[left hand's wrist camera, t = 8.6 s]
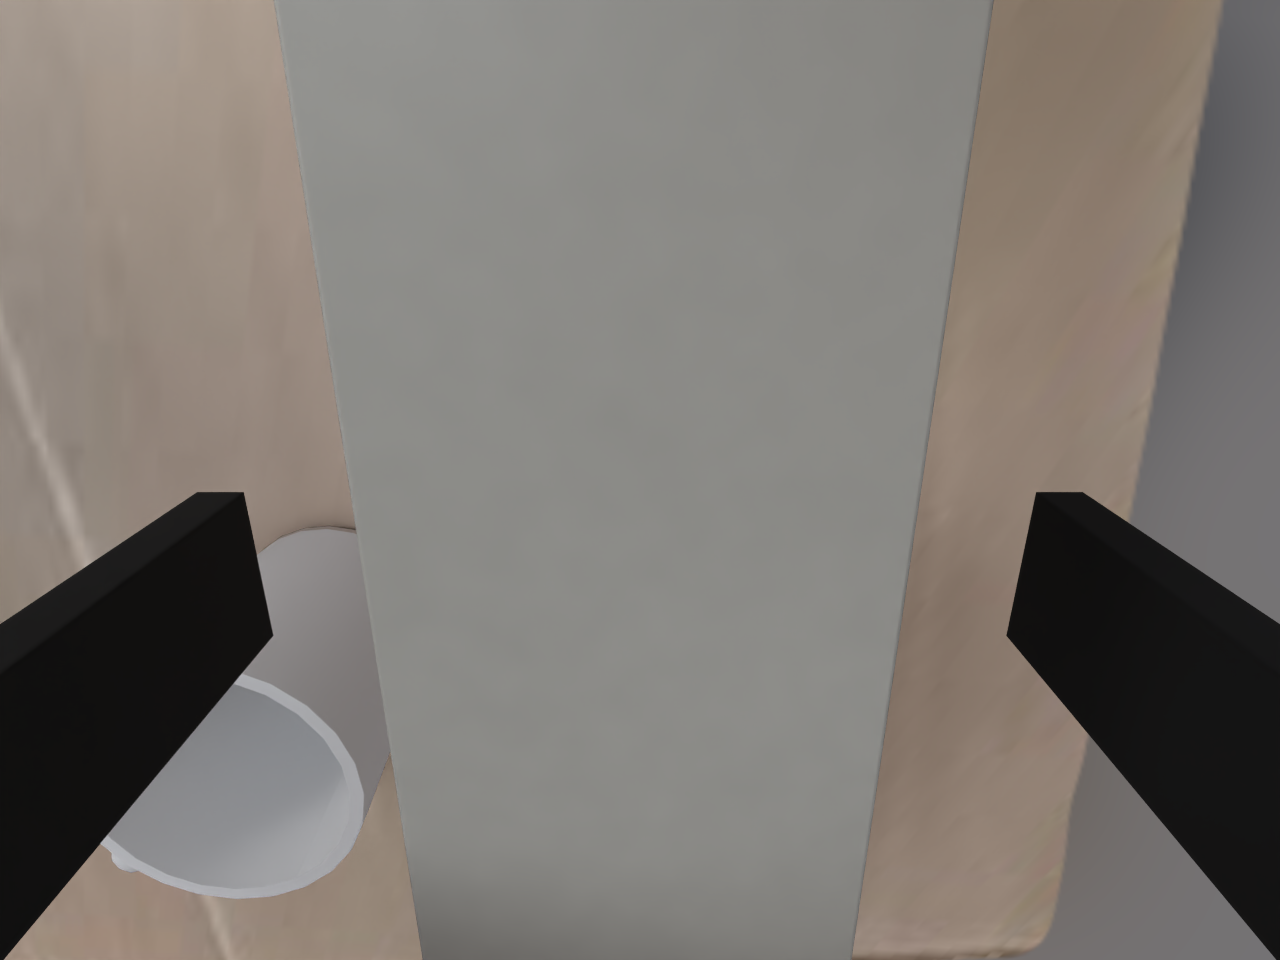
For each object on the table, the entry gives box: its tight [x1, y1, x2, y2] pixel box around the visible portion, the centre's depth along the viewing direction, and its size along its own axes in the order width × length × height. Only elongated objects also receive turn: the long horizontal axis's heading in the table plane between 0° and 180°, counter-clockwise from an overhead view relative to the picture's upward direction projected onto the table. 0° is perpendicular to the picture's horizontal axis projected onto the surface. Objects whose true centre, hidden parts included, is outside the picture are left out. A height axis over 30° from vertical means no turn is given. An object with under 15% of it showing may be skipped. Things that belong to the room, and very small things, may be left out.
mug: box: [100, 526, 390, 899], centre depth 27 cm, size 11×9×10 cm
